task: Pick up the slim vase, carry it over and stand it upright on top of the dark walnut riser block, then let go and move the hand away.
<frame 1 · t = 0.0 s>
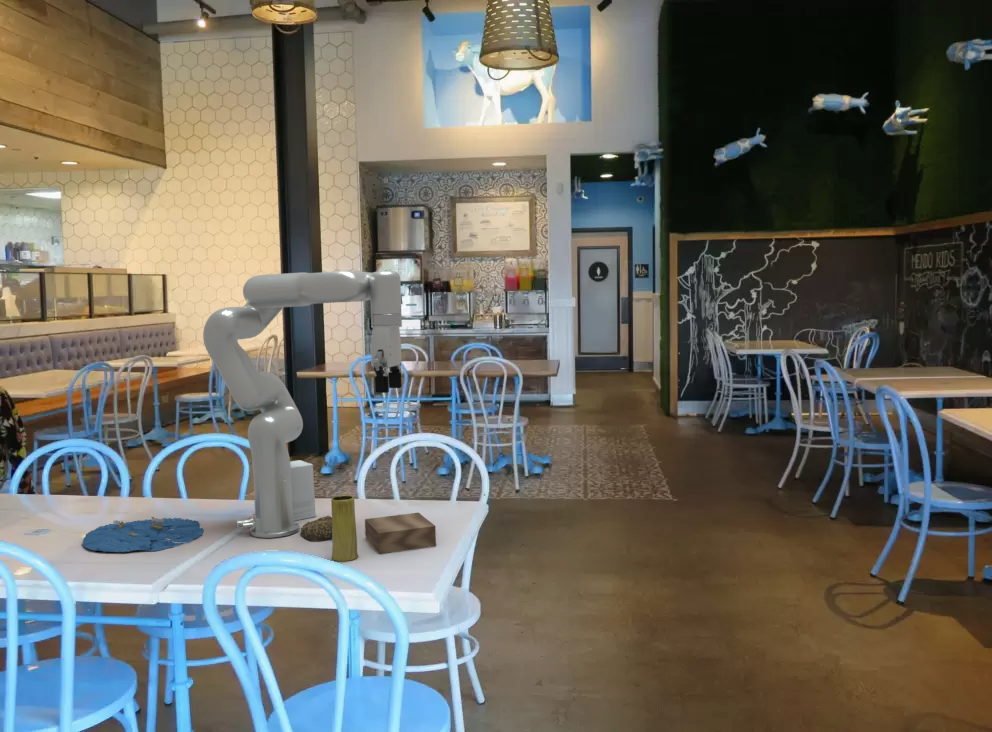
hand: (388, 390, 213), 37 cm above the table, tool pointing down, fingers open, 9 cm apart
decorative plate: (147, 538, 222), on the table
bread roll: (326, 535, 221), on the table
supplement box: (294, 517, 238), on the table
walnut riser: (400, 542, 212), on the table
vase: (345, 558, 201), on the table
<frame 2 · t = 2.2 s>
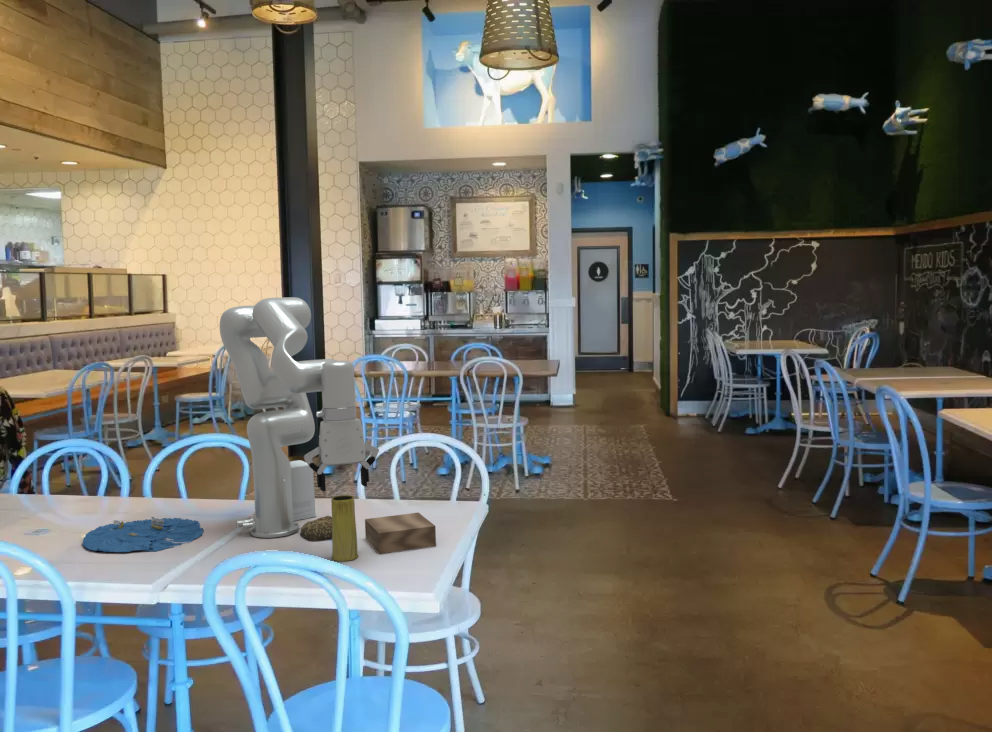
hand: (343, 487, 199), 17 cm above the table, tool pointing down, fingers open, 9 cm apart
nothing on the table moved.
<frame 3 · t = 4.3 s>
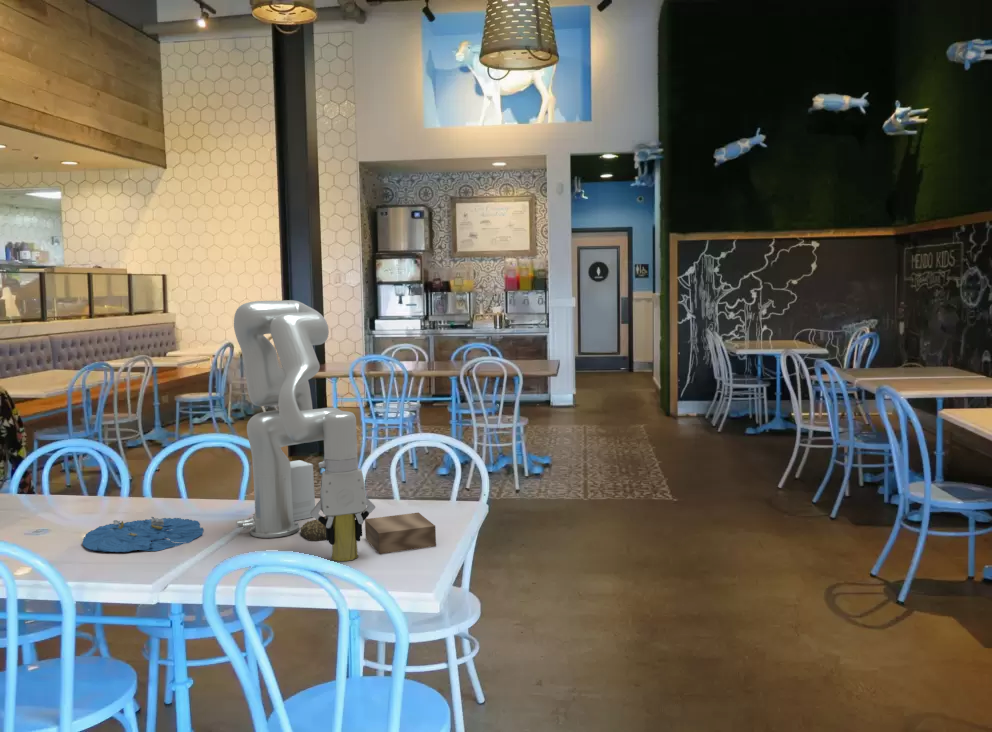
hand: (344, 540, 200), 4 cm above the table, tool pointing down, fingers closed on vase, 5 cm apart
vase: (344, 558, 200), on the table, touching gripper
everything else where it was.
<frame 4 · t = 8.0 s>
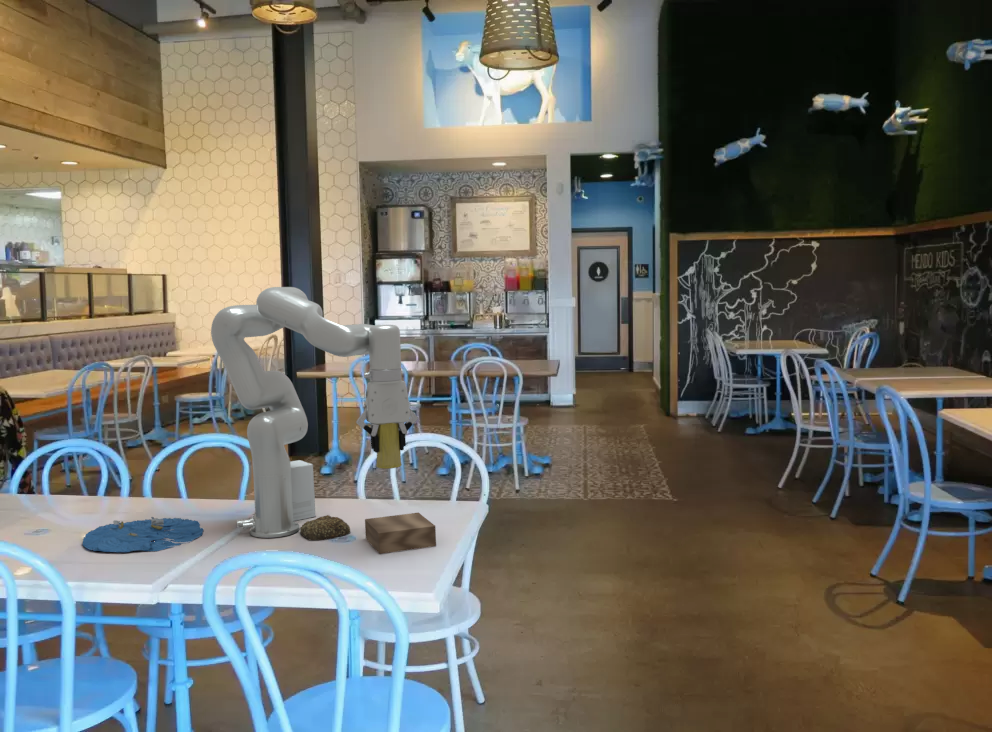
hand: (388, 449, 208), 24 cm above the table, tool pointing down, fingers closed on vase, 5 cm apart
vase: (389, 467, 208), point 19 cm above the table, touching gripper
everything else where it was.
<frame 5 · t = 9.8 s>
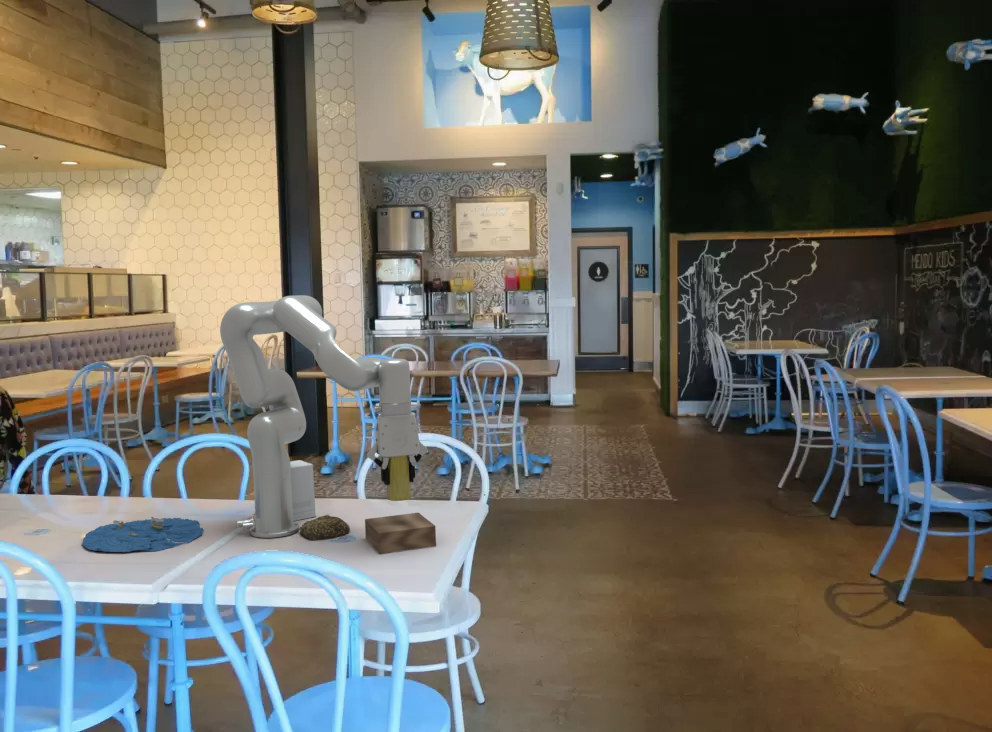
hand: (398, 482, 210), 15 cm above the table, tool pointing down, fingers closed on vase, 5 cm apart
vase: (399, 498, 211), point 11 cm above the table, touching gripper
everything else where it was.
when the fingers open (10 cm above the table, at t = 11.5 s): vase drops 1 cm, resting on walnut riser.
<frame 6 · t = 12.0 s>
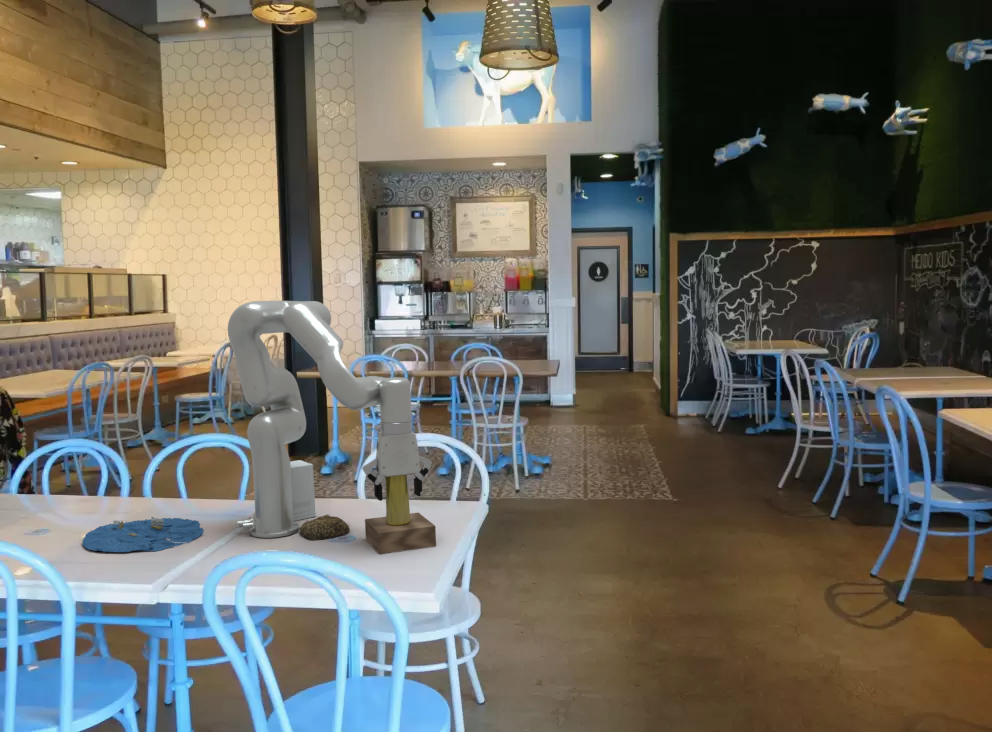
hand: (398, 497, 211), 11 cm above the table, tool pointing down, fingers open, 9 cm apart
vase: (398, 523, 211), point 5 cm above the table, touching walnut riser
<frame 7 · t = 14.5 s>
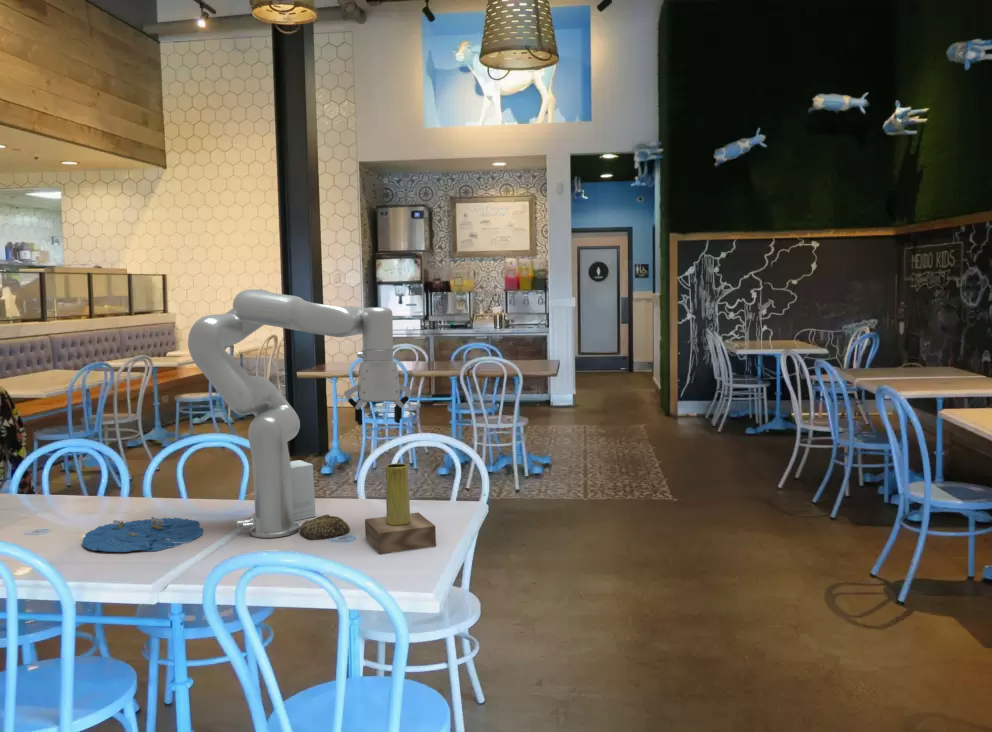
hand: (378, 423, 218), 28 cm above the table, tool pointing down, fingers open, 9 cm apart
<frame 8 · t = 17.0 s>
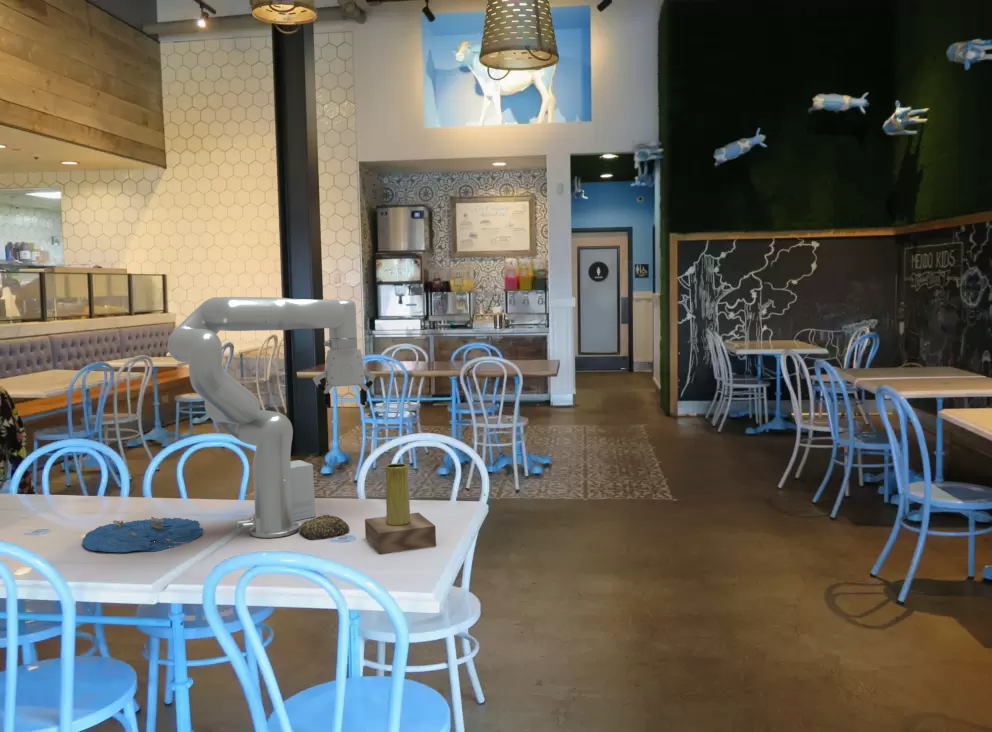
hand: (345, 406, 238), 30 cm above the table, tool pointing down, fingers open, 9 cm apart
at the end: vase inside the target area on the walnut riser (0.3 cm from its centre), point 4.8 cm above the walnut riser's base; vase tilted 0°; the gripper is holding nothing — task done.
